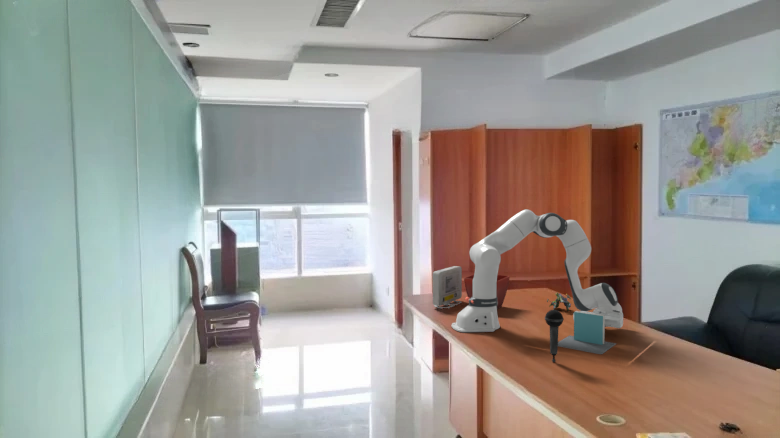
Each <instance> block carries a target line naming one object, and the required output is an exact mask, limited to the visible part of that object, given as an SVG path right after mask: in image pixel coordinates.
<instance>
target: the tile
mask: <svg viewBox="0 0 780 438" xmlns="http://www.w3.org/2000/svg"><path fill="white" fill-rule="evenodd" d="M587 312H588V311H587ZM587 312H580V310H575V311H574V312H573V315H574V320H573V336H574V340H578V341H584V342H589V343H595V344H601V345H603V344H604V341H605V335H606V333H605V328H606V327H605V315H601V314H594V313H587Z"/></svg>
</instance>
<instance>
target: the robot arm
mask: <svg viewBox="0 0 780 438" xmlns="http://www.w3.org/2000/svg"><path fill="white" fill-rule="evenodd" d="M530 233H534V234H535V235H536V236H538V237H540V238H547V239H548V238H552V237H553V238H554V237H557V238H558V239H559V240H560V241H561V243H562V245H563V248H564V249H565V252H566V258H565V259H564V262H563V263H564V269H565V273H566V276H567V279H568V283H569V287H570V291H571V296H572V300H573V305H574V306H575V308H576V309H577V310H578V311H580V312H587V313H594V314H601V315H605V328H606V327H607V328H609V327H610V328H615V329H621V328H622V327H623V325H624V313H623V308H622V306H621V305H620V303H619V300H618V296H617V292H616V291H615V289H614V288H613V286H611V285H610V284H608V283H606V282H600V283H598V284H595V285H593V286H590V287H587V288H582V284H581V280H580V276H579V274H578V271H579V267H581V265H582V264H583V263H584V262H585V261H586V260H588V258H589V257H590V255H591V253H592V245H591V243H590V240H589V238H588V237H587V235H586V233H585V231H584V229H583V228H582V226H581V225H580V224H579V223H578V221H577V220H576V219H575V220H574V219H567V220H566V219H564V218H563V217H562V216H561V215H559V214H558V213H555V212H547V213H545V214H544V213H543V214H541V215H536V214H535V213H534V212H533V210H530V209H523V210H521V211H519V212H517V213H515V214H514V215H513V216H512V217H510V218H509V219H507V221H505V222H504V223H503V224H502V225H501V226H499V227H498V228H497V229H496V230H495V231H493V232H491V233H490V234H488V235H487V236H485V237H484V238H482V239H481V240H480V241H478V242H476V243H474V244H473V245H472V246H471V247H470V248H469V259H470V260H471V262H473V264H474V266H475V267H474V273H473V274H474V278H473V296H472V297H471V298H469V297H468V296H466V297H465V301H466V302H467V303H468V305H466V306H465V307H464V308H462V310H460V311H459V312H458V313H457V315H456V320H455V322H452V323H451V328H452V329H453V330H454V331H457V332H460V333H485V332H486V333H488V332H492V333H493V332H495V331H496V330H498V329H500V327H501V326H500V321H499V317H498V315H499V314H498V309H497V305H498V301H497V297H496V285H497V275H499V269H500V264H501V260H502V259H501V255H502V254H504V253H506V252H508V251H510V250H512V249H513V248H514V247H515V246H517V245H518V244H519V243H520V242H522V240H524V239H525V238H526V237H527V236H528V235H530ZM572 317H573V318H572V319H573V321H574V314H573V316H572Z"/></svg>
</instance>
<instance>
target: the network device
mask: <svg viewBox="0 0 780 438" xmlns="http://www.w3.org/2000/svg"><path fill="white" fill-rule="evenodd" d="M462 270H463V269H462V266H457V265H453V266H450V267H445V268H442V269H438V270H435V271H433V272H432V305H433V306H434V308H435V307H437V308H436V309H442V308H448V309H451V308H453V307H456V306H458V304H459V305H461V304H462V300H459V299H461V298H462V294H463V286H462V285H463V282H462V281H463V280H462V279H463V274H462V273H463V271H462ZM452 301H454V302H452ZM458 302H459V303H458ZM460 303H461V304H460ZM448 305H450V306H448ZM455 305H456V306H455ZM450 307H451V308H450Z"/></svg>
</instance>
